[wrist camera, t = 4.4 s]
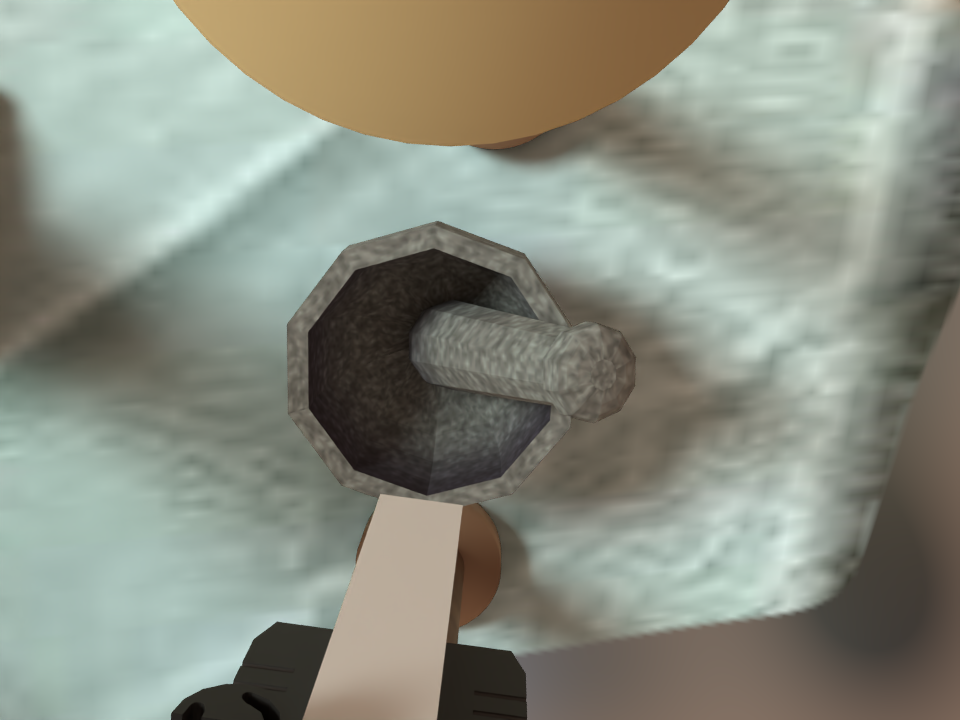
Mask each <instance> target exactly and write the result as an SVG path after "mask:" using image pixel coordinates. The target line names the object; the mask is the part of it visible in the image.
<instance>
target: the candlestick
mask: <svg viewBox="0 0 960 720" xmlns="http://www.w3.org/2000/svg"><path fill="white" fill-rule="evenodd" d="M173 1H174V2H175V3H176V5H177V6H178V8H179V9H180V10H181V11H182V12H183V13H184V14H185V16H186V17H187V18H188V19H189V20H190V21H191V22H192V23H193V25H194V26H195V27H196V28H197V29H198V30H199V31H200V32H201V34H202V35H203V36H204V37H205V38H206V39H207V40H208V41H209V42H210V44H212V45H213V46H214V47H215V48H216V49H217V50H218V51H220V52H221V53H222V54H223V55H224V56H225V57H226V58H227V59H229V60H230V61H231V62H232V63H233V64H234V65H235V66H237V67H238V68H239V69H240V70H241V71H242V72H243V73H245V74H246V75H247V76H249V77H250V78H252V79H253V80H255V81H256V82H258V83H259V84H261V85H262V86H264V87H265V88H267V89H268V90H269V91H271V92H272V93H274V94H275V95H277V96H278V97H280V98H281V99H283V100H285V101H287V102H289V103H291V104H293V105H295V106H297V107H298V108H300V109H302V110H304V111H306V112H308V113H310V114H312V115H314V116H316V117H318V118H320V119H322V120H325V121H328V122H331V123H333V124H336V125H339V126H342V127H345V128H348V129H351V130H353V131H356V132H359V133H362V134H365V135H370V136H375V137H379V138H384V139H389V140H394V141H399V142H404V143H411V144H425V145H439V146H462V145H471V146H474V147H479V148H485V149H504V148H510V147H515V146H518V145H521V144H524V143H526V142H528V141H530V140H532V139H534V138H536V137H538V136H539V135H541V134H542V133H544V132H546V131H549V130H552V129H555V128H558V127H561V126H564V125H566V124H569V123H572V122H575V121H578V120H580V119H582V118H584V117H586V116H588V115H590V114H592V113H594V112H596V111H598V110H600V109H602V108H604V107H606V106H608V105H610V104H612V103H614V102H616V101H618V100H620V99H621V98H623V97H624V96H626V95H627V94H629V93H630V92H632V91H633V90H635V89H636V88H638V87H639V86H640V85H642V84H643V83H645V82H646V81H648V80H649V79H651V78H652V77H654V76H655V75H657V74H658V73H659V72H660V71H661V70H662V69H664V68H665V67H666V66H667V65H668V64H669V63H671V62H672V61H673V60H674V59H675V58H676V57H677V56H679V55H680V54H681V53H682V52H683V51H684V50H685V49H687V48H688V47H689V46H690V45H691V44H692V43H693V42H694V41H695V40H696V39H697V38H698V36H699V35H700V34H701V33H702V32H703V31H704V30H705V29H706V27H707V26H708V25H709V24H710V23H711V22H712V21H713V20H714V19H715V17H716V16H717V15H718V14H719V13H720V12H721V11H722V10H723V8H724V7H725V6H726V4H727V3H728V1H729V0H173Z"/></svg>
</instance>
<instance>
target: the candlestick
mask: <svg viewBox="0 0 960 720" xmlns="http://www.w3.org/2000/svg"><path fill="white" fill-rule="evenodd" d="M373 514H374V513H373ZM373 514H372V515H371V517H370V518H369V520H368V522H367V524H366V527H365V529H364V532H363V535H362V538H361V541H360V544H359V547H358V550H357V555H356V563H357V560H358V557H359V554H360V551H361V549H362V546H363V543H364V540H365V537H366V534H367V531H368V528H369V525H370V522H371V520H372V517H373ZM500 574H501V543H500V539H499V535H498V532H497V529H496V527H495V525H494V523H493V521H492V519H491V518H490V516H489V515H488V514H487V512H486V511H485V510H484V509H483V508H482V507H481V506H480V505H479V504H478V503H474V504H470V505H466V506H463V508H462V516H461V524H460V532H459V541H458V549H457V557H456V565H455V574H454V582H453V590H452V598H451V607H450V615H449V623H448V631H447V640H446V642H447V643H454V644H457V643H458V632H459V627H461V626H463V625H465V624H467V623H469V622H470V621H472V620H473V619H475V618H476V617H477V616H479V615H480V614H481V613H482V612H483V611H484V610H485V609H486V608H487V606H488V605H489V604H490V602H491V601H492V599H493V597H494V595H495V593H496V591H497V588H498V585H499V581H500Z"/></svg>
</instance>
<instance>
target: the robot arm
mask: <svg viewBox="0 0 960 720" xmlns="http://www.w3.org/2000/svg"><path fill="white" fill-rule="evenodd" d="M462 508H463V505H458V504H450V503H443V502H436V501H428V500H421V499H414V498H406V497H399V496H392V495H385V494H380V496H379V499H378V502H377V505H376V508H375V511H374V514H373V517H372V520H371V522H370V525H369V528H368V531H367V534H366V537H365V540H364V543H363V546H362V549H361V551H360V554H359V557H358V560H357V563H356V566H355V569H354V572H353V575H352V578H351V580H350V583H349V586H348V589H347V592H346V595H345V598H344V601H343V604H342V607H341V609H340V612H339V615H338V618H337V621H336V624H335V627H334V630H333V629H326V628H319V627H311V626H304V625H297V624H289V623H282V622H276V623H275V624H274V625H272V626H271V627H270V628H268V629H267V630H266V631H264V632H263V633H262V634H260V635H259V636H258V637H256V638H255V639H254V640H253V642H252V644H251V646H250V648H249V650H248V652H247V654H246V656H245V658H244V660H243V664H242V666H240V668H239V670H238V672H237V675H236V677H235V679H234V682H233V684H224V685H219V686H215V687H211V688H206V689H202V690H200V691H199V692H197V693H195V694H193V695H191V696H189V697H187V698H185V699H184V700H183V701H182V702H181V703H180V704H179V705H178V706H177V707H176V708H175V710H174V711H173V712H172V713H171V720H527V704H526V703H527V702H526V673H525V672H524V670H523V669H522V667H521V666H520V664H519V663H518V661H517V659H516V658H515V656H514V655H513V653H512V652H511V651H506V650H498V649H491V648H484V647H476V646H469V645H462V644H454V643H447V642H446V640H447V631H448V623H449V615H450V607H451V598H452V590H453V582H454V574H455V565H456V557H457V549H458V541H459V532H460V524H461V516H462Z"/></svg>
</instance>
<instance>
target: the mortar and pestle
mask: <svg viewBox="0 0 960 720" xmlns="http://www.w3.org/2000/svg"><path fill="white" fill-rule="evenodd" d="M635 358H636V357H635V355H634V354H633V352H632V350H631V349H630V347H629V345H628V343H627V342H626V340H625V338H624V337H623V335H622V333H621V332H620V331H617V330H615V329H612V328H609V327H606V326H604V325H601V324H598V323H595V322H588V321H585V322H583V323H581V324H578V325H576V326H573V327H572V326H571V324H570V323H569V321H568V320H567V318H566V316H565V315H564V313H563V312H562V310H561V309H560V307H559V306H558V304H557V303H556V301H555V300H554V298H553V297H552V295H551V293H550V292H549V290H548V289H547V287H546V286H545V284H544V283H543V281H542V280H541V278H540V277H539V275H538V274H537V272H536V270H535V269H534V267H533V266H532V264H531V263H530V261H529V260H528V258H527V257H526V255H525V254H524V253H521V252H519V251H516V250H514V249H511V248H508V247H506V246H503V245H500V244H498V243H495V242H492V241H490V240H487V239H484V238H482V237H479V236H476V235H474V234H471V233H468V232H466V231H463V230H460V229H458V228H455V227H452V226H450V225H447V224H444V223H442V222H439V221H436V222H432V223H429V224H425V225H421V226H418V227H414V228H411V229H407V230H403V231H400V232H396V233H393V234H389V235H385V236H382V237H378V238H375V239H371V240H368V241H364V242H360V243H357V244H353V245H350V246H348V247H347V248H346V249H344V250H343V251H342V252H341V254H340V255H339V256H338V258H337V259H336V260H335V262H334V263H333V264H332V266H331V267H330V268H329V269H328V271H327V272H326V273H325V275H324V276H323V277H322V279H321V280H320V281H319V283H318V284H317V285H316V287H315V288H314V289H313V291H312V292H311V293H310V295H309V296H308V297H307V299H306V300H305V301H304V303H303V304H302V305H301V307H300V308H299V309H298V311H297V312H296V313H295V315H294V316H293V317H292V319H291V320H290V321H289V322H288V324H287V359H288V414H289V416H290V417H291V418H292V420H293V421H294V422H295V424H296V425H297V426H298V428H299V429H300V430H301V432H302V433H303V434H304V436H305V437H306V438H307V440H308V441H309V442H310V444H311V445H312V446H313V448H314V449H315V450H316V452H317V453H318V454H319V456H320V457H321V458H322V460H323V461H324V462H325V464H326V465H327V466H328V468H329V469H330V471H331V472H332V473H333V475H334V476H335V477H336V479H337V480H338V481H339V483H340V484H341V485H342V486H345V487H347V488H350V489H353V490H356V491H359V492H362V493H364V494H367V495H370V496H373V497H376V498H379V496H380V494H385V495H392V496H399V497H406V498H414V499H421V500H428V501H436V502H443V503H450V504H458V505H463V506H466V505H470V504H474V503H478V502H482V501H486V500H490V499H494V498H498V497H502V496H507V495H511V494H513V493H514V492H515V490H516V489H517V488H518V487H519V486H520V485H521V484H522V482H523V481H524V480H525V479H526V478H527V477H528V476H529V474H530V473H531V472H532V471H533V470H534V469H535V468H536V466H537V465H538V464H539V463H540V462H541V461H542V460H543V458H544V457H545V456H546V455H547V454H548V453H549V451H550V450H551V449H552V448H553V447H554V446H555V445H556V443H557V442H558V441H559V440H560V439H561V438H562V437H563V435H564V434H565V433H566V432H567V431H568V430H569V429H570V425H571V417H573V418H576V419H580V420H583V421H587V422H591V423H595V422H597V421H599V420H601V419H604V418H606V417H608V416H610V415H612V414H614V413H616V412H619V411H620V410H621V408H622V407H623V405H624V403H625V402H626V400H627V398H628V397H629V395H630V393H631V392H632V390H633V388H634V387H635Z"/></svg>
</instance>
